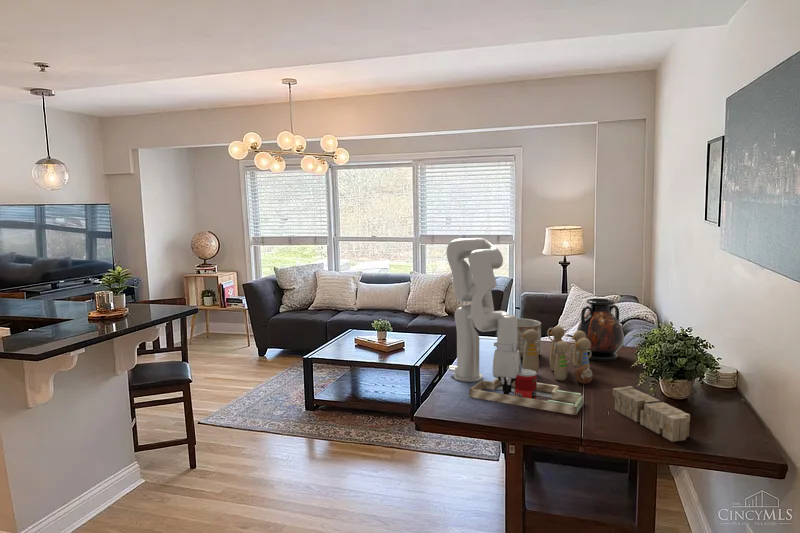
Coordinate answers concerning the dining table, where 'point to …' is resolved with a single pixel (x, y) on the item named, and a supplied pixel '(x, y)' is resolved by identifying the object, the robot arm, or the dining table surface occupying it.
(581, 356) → the bowling set
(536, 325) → the planter
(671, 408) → the block tower
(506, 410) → the dining table surface
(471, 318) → the robot arm
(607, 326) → the amphora vase
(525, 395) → the canned food
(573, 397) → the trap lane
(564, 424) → the dining table surface
